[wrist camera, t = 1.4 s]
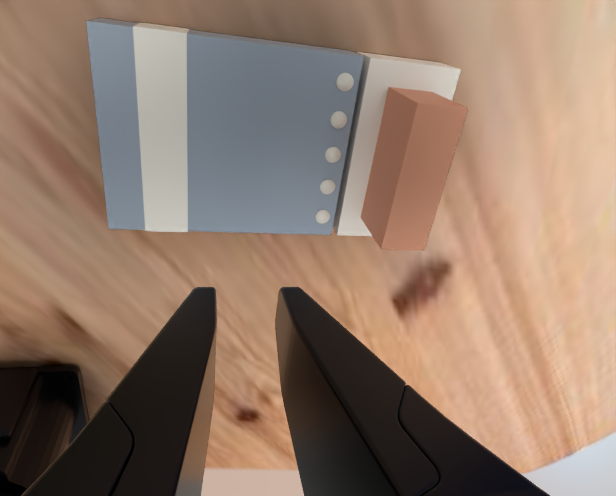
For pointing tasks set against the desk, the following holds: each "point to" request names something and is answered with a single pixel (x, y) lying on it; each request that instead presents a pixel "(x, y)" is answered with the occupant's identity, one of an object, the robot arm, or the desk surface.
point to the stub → (398, 150)
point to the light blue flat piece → (219, 129)
